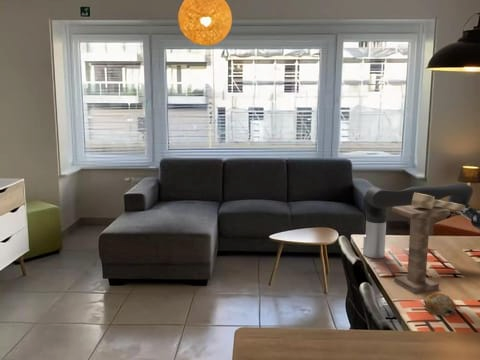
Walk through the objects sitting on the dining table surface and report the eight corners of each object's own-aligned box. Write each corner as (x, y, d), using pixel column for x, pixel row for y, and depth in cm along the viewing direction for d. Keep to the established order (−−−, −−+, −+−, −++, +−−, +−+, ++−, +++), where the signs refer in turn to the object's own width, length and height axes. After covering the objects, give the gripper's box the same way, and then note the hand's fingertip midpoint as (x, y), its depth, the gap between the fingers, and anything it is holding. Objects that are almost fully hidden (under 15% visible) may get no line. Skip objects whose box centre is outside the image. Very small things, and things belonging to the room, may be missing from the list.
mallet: (419, 207, 183) (422, 194, 182) (411, 204, 187) (414, 192, 187) (465, 214, 191) (468, 203, 191) (456, 212, 196) (459, 200, 196)
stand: (407, 293, 183) (411, 213, 178) (388, 282, 194) (392, 206, 189) (444, 287, 189) (450, 210, 183) (424, 277, 200) (429, 203, 195)
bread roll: (435, 326, 165) (445, 310, 161) (415, 304, 172) (424, 289, 168) (454, 320, 170) (464, 304, 165) (434, 298, 177) (443, 283, 173)
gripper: (476, 211, 205) (452, 195, 199) (504, 219, 192) (478, 202, 186) (468, 226, 205) (443, 211, 199) (495, 235, 192) (469, 219, 186)
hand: (460, 206), depth 192 cm, fingers open, 8 cm apart
